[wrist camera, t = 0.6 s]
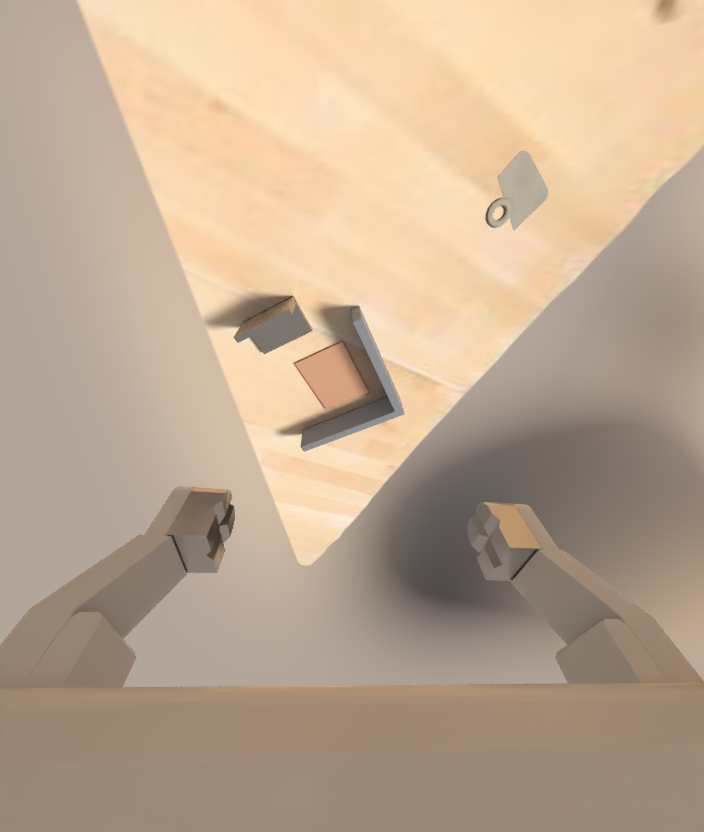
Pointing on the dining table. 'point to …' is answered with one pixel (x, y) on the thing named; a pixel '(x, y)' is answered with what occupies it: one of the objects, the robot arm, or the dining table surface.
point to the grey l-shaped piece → (365, 414)
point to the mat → (333, 376)
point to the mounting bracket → (518, 191)
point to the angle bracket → (275, 326)
